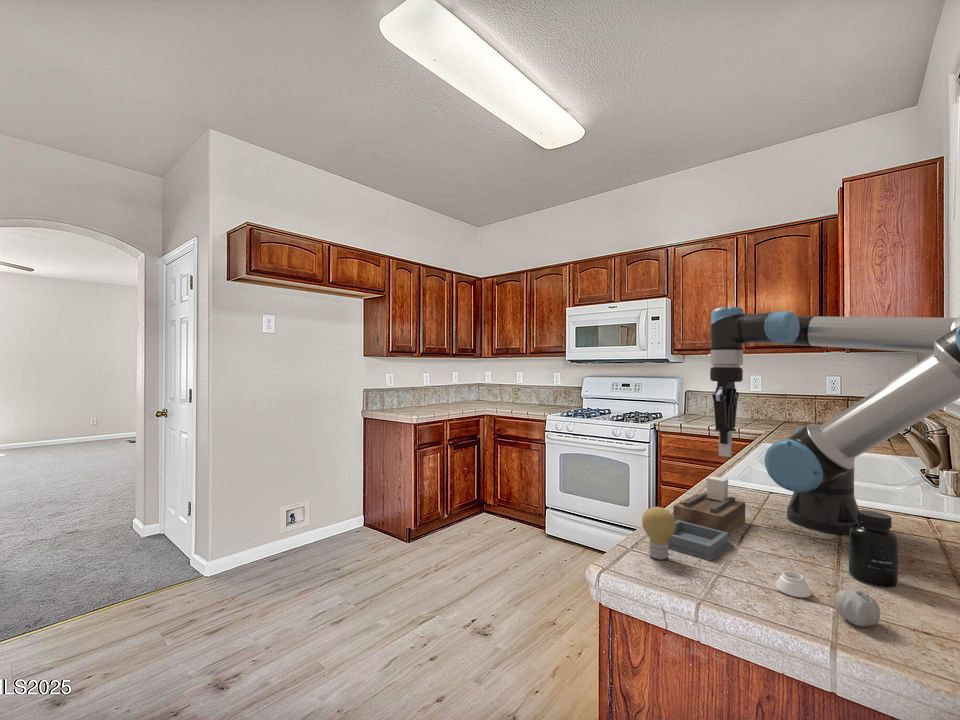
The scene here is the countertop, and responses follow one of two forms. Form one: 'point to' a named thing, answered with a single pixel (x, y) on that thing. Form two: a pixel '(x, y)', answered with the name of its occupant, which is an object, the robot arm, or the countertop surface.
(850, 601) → the garlic
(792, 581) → the white conical ring
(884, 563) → the supplement bottle
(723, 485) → the toggle
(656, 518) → the light bulb
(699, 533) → the tray
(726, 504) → the switch box
